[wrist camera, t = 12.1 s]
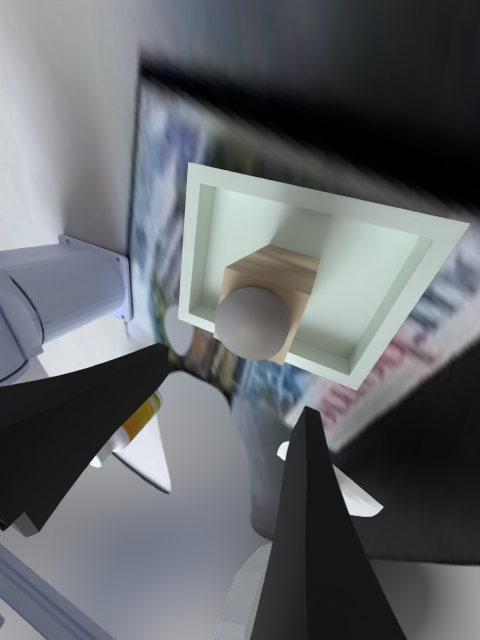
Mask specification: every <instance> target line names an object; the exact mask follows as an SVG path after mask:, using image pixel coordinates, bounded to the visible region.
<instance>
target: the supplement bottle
mask: <svg viewBox="0 0 480 640" xmlns="http://www.w3.org/2000/svg"><path fill="white" fill-rule="evenodd" d="M161 406H162V397H161V395H160V393H159V392H158V390H156V391H155V392H154V393H153V394H152V396H151V397H150V398H149V399H148V400H147V401H146V402H145V403H144V404H143V405H142V406H141V407H140V408H139V409H138V410H137V411H136V412H135V413H134V414H133V415H132V416H131V417H130V418H129V419H128V420H127V421H126V422H125V423H124V424H123V425H122V426H121V427H120V428H119V429H118V430H117V431H116V432H115V433H114V434H113V436H112V437H111V438H110V439H109V440H108V442H107V443H106V444H105V445H104V446H103V447H102V449H101V450H100V451H99V452H98V454H97V455H96V456H95V457H94V459H93V460H92V461H91V462H90V464H91V465H92V466H94V467H101V466H102V465H103V464H104V463H105V462H106V460H108V459H109V457H110V456H111V452H112V451H121V450H123V449H125V448H126V447H127V446H128V444H129V443H130V442H131V441H132V440H133V439H134V438H135V437H136V435H137V434H138V433H139V432H140V431H141V430H142V429H143V427H144V426H145V425H146V424H147V423H148V422H149V421H150V420H151V418H152V417H153V416H154V415H155V414H156V413H157V412H158V410H159V409H160V408H161Z"/></svg>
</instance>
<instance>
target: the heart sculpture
mask: <svg viewBox="0 0 480 640" xmlns="http://www.w3.org/2000/svg"><path fill="white" fill-rule="evenodd" d="M288 445H289V441H288V442H284V443H283V444H282V445H281V446H280V448H279V450H278V453H277V455H278V456H280V457H281V458H282V459H283V460H284V461H285V458H286V453H287V449H288ZM333 467H334V470H335V474H336V477H337V480H338V483H339V486H340V489H341V492H342V495H343V498H344V500H345V503H346V506H347V509H348V511H349V514H350V515H356V516H373V515H376V514H377V513H378V512H379V511H380V510H381V509H382V508H383V506H382V505H380V504H379V503H378V502H377V501H376V500H374V499H373V498H372V497H371V496H370V495H368V494H367V493H366V492H365V491H364V490H363V489H361V488H360V487H359V486H358V485H357V484H355V483H354V482H353V481H352V480H351V479H350V478H348V477H347V476H346V475H345V474H344V473H342V472H341V471H340V470H339V469H338V468H337V467H335V466H334V465H333ZM271 547H272V542H271V543H269V544H266V545H264V546H262V547H259V548H258V550H257V551H256V552H255V553H254V554H253V555H252V556H251V557H250V559H249V560H248V561H247V562H246V563H245V564H244V565H243V566H242V568H241V569H240V570H239V571H238V572H237V574H236V576H235V579H234V581H233V584H232V586H231V589H230V591H229V594H228V597H227V599H226V602H225V604H224V607H223V609H222V612H221V615H220V617H219V620H218V625H217V630H216V635H215V640H250V637H251V633H252V629H253V625H254V620H255V616H256V612H257V608H258V604H259V599H260V595H261V591H262V587H263V582H264V578H265V573H266V569H267V565H268V560H269V556H270V551H271Z"/></svg>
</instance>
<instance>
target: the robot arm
mask: <svg viewBox="0 0 480 640" xmlns="http://www.w3.org/2000/svg"><path fill="white" fill-rule="evenodd" d="M58 239H59V244H52V245H44V246H36V247H28V248H20V249H12V250H4V251H0V529H1V530H2V531H4V530H6V529H7V528H8V527H9V526H10V525H11V526H12V527H13V528H15V529H16V530H17V531H18V532H20V533H21V534H22V535H24V536H25V537H29V536H32V535H35V534H36V533H38V532H40V530H41V529H42V527H43V526H44V524H45V523H46V521H47V520H48V519H49V517H50V516H51V514H52V513H53V512H54V510H55V509H56V507H57V506H58V505H59V503H60V502H61V500H62V499H63V498H64V496H65V495H66V493H67V492H68V491H69V490H70V488H71V487H72V486H73V484H74V483H75V482H76V480H77V479H78V478H79V476H80V475H81V474H82V472H83V471H84V470H85V469H86V467H87V466H88V465H89V464H90V462H91V461H92V460H93V459H94V457H95V456H96V455H97V454H98V452H99V451H100V450H101V449H102V447H103V446H104V445H105V444H106V443H107V442H108V440H109V439H110V438H111V437H112V436H113V434H114V433H115V432H116V431H117V430H118V429H119V428H120V427H121V426H122V425H123V424H124V423H125V422H126V421H127V420H128V419H129V418H130V417H131V416H132V415H133V414H134V413H135V412H136V411H137V410H138V409H139V408H140V407H141V406H142V405H143V404H144V403H145V402H146V401H147V400H148V399H149V398H150V397H151V396H152V394H153V393H154V392H155V391H156V390H157V389H158V388H159V386H160V385H161V384H162V382H163V381H164V380H165V378H166V377H167V376H168V350H169V347H168V346H165V345H163V344H161V343H156V344H154V345H151V346H148V347H145V348H143V349H140V350H138V351H135V352H132V353H130V354H127V355H124V356H121V357H119V358H116V359H113V360H110V361H107V362H104V363H101V364H98V365H95V366H92V367H89V368H85V369H82V370H78V371H75V372H71V373H67V374H63V375H59V376H54V377H50V378H45V379H40V380H35V381H30V382H25V383H20V384H15V383H16V382H18V381H19V380H20V379H21V378H22V377H23V376H24V375H25V374H26V373H27V372H28V371H29V369H30V368H31V366H32V358H33V357H35V356H37V355H39V354H41V353H43V352H44V351H43V349H42V345H43V344H45V343H47V342H49V341H51V340H54V339H56V338H58V337H60V336H62V335H64V334H67V333H69V332H71V331H73V330H75V329H77V328H79V327H82V326H84V325H86V324H88V323H90V322H92V321H95V320H97V319H99V318H101V317H103V316H105V315H108V314H110V315H112V316H114V317H117V318H119V319H121V320H124V321H126V322H130V321H131V320H132V313H131V296H130V279H129V263H128V259H127V257H125V256H123V255H121V254H118V253H115V252H112V251H109V250H106V249H103V248H101V247H98V246H95V245H92V244H89V243H86V242H84V241H81V240H78V239H75V238H72V237H69V236H66V235H64V234H61V235H59V236H58ZM119 259H120V260H119ZM0 598H1V599H3V600H4V601H5V602H6V603H7V604H8V605H9V606H10V607H11V608H12V609H14V610H15V611H16V612H17V613H18V614H19V615H20V616H21V617H22V618H23V619H24V620H26V621H27V622H28V623H29V624H30V625H31V626H32V627H33V628H35V630H37V631H38V632H39V633H40V634H41V635H42V636H43V637H44V638H46V640H116V639H114V638H113V637H112V636H111V635H109V634H108V633H107V632H106V631H105V630H103V629H102V628H101V627H100V626H98V625H97V624H96V623H95V622H94V621H93V620H91V619H90V618H89V617H88V616H87V615H85V614H84V613H83V612H82V611H81V610H79V609H78V608H77V607H76V606H75V605H73V604H72V603H71V602H70V601H69V600H67V599H66V598H65V597H64V596H63V595H61V594H60V593H59V592H58V591H57V590H55V589H54V588H53V587H52V586H51V585H49V584H48V583H47V582H45V580H43V579H42V578H41V577H40V576H38V575H37V574H36V573H35V572H34V571H33V570H31V569H30V568H29V567H28V566H27V565H25V564H24V563H23V562H22V561H20V560H19V559H18V558H17V557H16V556H14V555H13V554H12V553H11V552H10V551H8V550H7V549H6V548H5V547H4V546H2V545H1V544H0ZM4 620H5V619H4V618H3V616H2V615H1V614H0V628H1V627H2V625H3V624H4ZM250 640H407V639H406V637H405V635H404V633H403V631H402V629H401V627H400V625H399V623H398V621H397V619H396V617H395V615H394V613H393V611H392V609H391V607H390V605H389V602H388V600H387V598H386V596H385V594H384V592H383V590H382V587H381V585H380V583H379V581H378V579H377V577H376V575H375V572H374V570H373V568H372V566H371V564H370V562H369V560H368V557H367V555H366V553H365V550H364V548H363V546H362V543H361V541H360V539H359V536H358V534H357V532H356V529H355V526H354V524H353V521H352V519H351V516H350V514H349V511H348V509H347V506H346V503H345V500H344V498H343V495H342V492H341V489H340V486H339V483H338V480H337V477H336V474H335V470H334V467H333V464H332V460H331V457H330V453H329V450H328V446H327V442H326V438H325V433H324V429H323V424H322V419H321V414H320V412H319V411H317V410H315V409H312V408H310V407H308V406H305V407H304V409H303V411H302V413H301V415H300V417H299V419H298V421H297V423H296V425H295V427H294V429H293V431H292V433H291V437H290V441H289V445H288V449H287V453H286V458H285V466H284V473H283V480H282V488H281V495H280V503H279V510H278V517H277V523H276V528H275V533H274V537H273V542H272V547H271V551H270V556H269V560H268V565H267V569H266V573H265V578H264V582H263V587H262V591H261V595H260V599H259V604H258V608H257V612H256V616H255V620H254V625H253V629H252V633H251V637H250Z"/></svg>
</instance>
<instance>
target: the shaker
mask: <svg viewBox="0 0 480 640" xmlns="http://www.w3.org/2000/svg"><path fill="white" fill-rule="evenodd" d="M320 260H321V259H318V258H314V257H311V256H307V255H304V254H301V253H297V252H294V251H290V250H287V249H283V248H280V247H276V246H273V245H269V244H268V245H266V246H264V247H262V248H261V249H259V250H257V251H255V252H253V253H251V254H249V255H247V256H245V257H243V258H242V259H240V260H238V261H236V262H234V263H232V264H230V265H228V266H226V267H225V270H224V275H223V281H222V287H221V293H220V299H219V305H218V307H217V309H216V312H215V318H214V323H215V329H214V335H213V337H214V338H216V339H219V340H221V342H222V343H223V344H224V345H225V346H226V347H227V348H228V349H229V350H230V351H231V352H233V353H234V354H236V355H238V356H240V357H242V358H245V359H249V360H264V359H268V360H270V361H272V362H275V363H277V364H280V365H282V366H283V363H284V361H285V358H286V356H287V353H288V351H289V348H290V346H291V343H292V341H293V338H294V336H295V333H296V331H297V328H298V326H299V323H300V321H301V318H302V316H303V313H304V311H305V308H306V306H307V303H308V301H309V298H310V296H311V292H312V289H313V285H314V282H315V278H316V274H317V271H318V267H319V264H320Z"/></svg>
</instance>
